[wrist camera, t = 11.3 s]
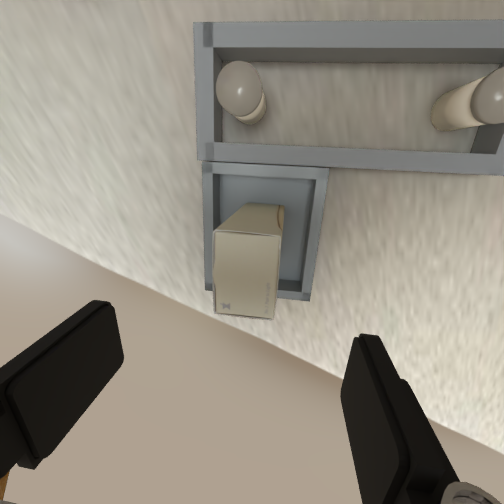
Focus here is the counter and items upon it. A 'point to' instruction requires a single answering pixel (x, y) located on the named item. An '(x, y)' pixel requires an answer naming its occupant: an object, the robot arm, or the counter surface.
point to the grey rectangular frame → (345, 50)
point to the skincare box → (248, 261)
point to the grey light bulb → (241, 92)
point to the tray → (278, 193)
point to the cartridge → (471, 104)
